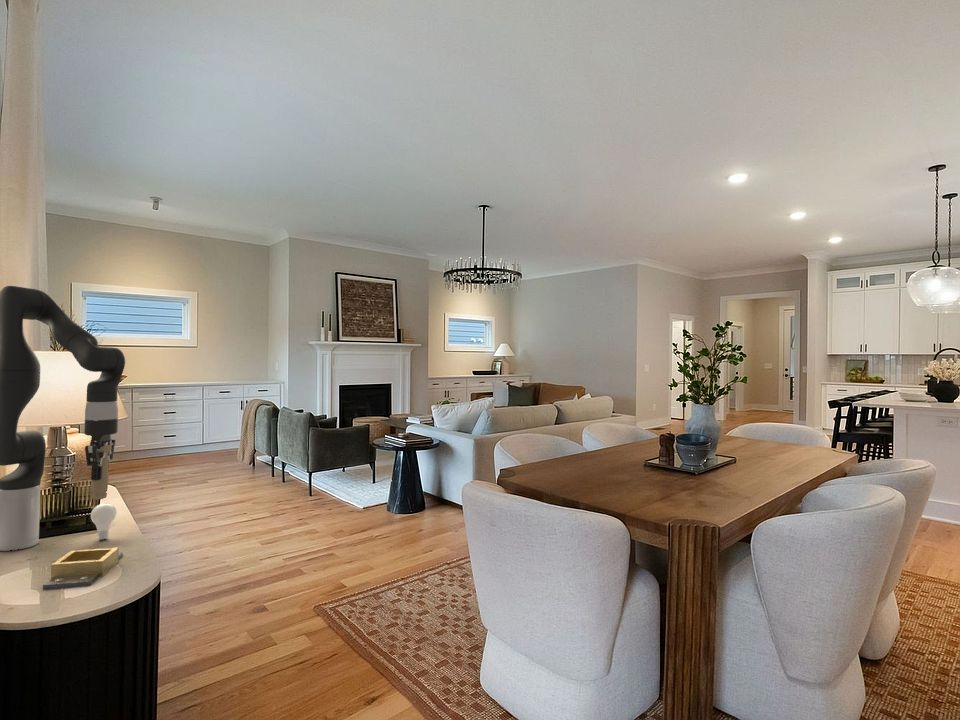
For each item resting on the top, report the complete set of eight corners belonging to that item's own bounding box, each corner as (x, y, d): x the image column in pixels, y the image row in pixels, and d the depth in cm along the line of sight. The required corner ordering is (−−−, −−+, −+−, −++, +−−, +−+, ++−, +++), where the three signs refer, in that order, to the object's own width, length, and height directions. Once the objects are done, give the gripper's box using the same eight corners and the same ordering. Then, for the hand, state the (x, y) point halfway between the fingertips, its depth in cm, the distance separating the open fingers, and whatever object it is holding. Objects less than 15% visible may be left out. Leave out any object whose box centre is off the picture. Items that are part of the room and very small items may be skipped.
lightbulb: (119, 539, 156) (120, 502, 157) (95, 544, 151) (96, 507, 151) (110, 534, 160) (111, 499, 160) (86, 540, 154) (87, 504, 155)
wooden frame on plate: (39, 589, 121) (40, 572, 121) (79, 558, 140) (80, 544, 140) (93, 585, 124) (93, 568, 124) (125, 555, 143) (125, 541, 143)
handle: (88, 502, 140) (90, 447, 140) (88, 497, 145) (90, 444, 145) (110, 499, 143) (111, 446, 143) (109, 495, 148) (111, 443, 148)
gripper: (97, 415, 150) (95, 473, 150) (73, 420, 137) (71, 484, 136) (126, 415, 152) (124, 472, 152) (106, 419, 139) (104, 483, 138)
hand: (99, 478), depth 144 cm, fingers closed on handle, 4 cm apart
